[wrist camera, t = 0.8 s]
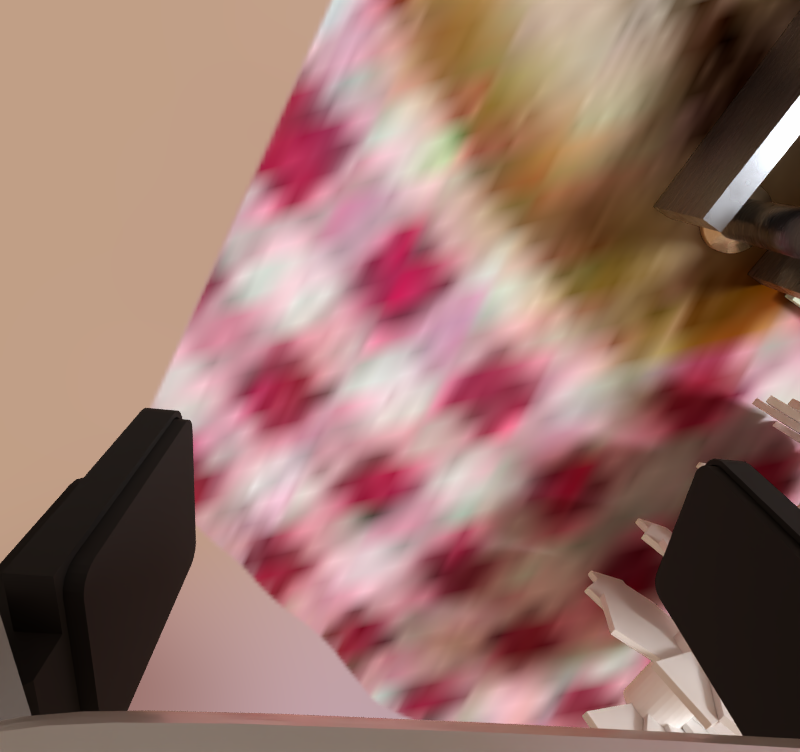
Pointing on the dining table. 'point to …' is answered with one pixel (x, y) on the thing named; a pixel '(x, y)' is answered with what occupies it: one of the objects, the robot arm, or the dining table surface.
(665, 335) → the dining table surface
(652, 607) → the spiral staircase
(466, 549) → the dining table surface
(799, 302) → the board
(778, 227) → the stand
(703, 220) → the c link
